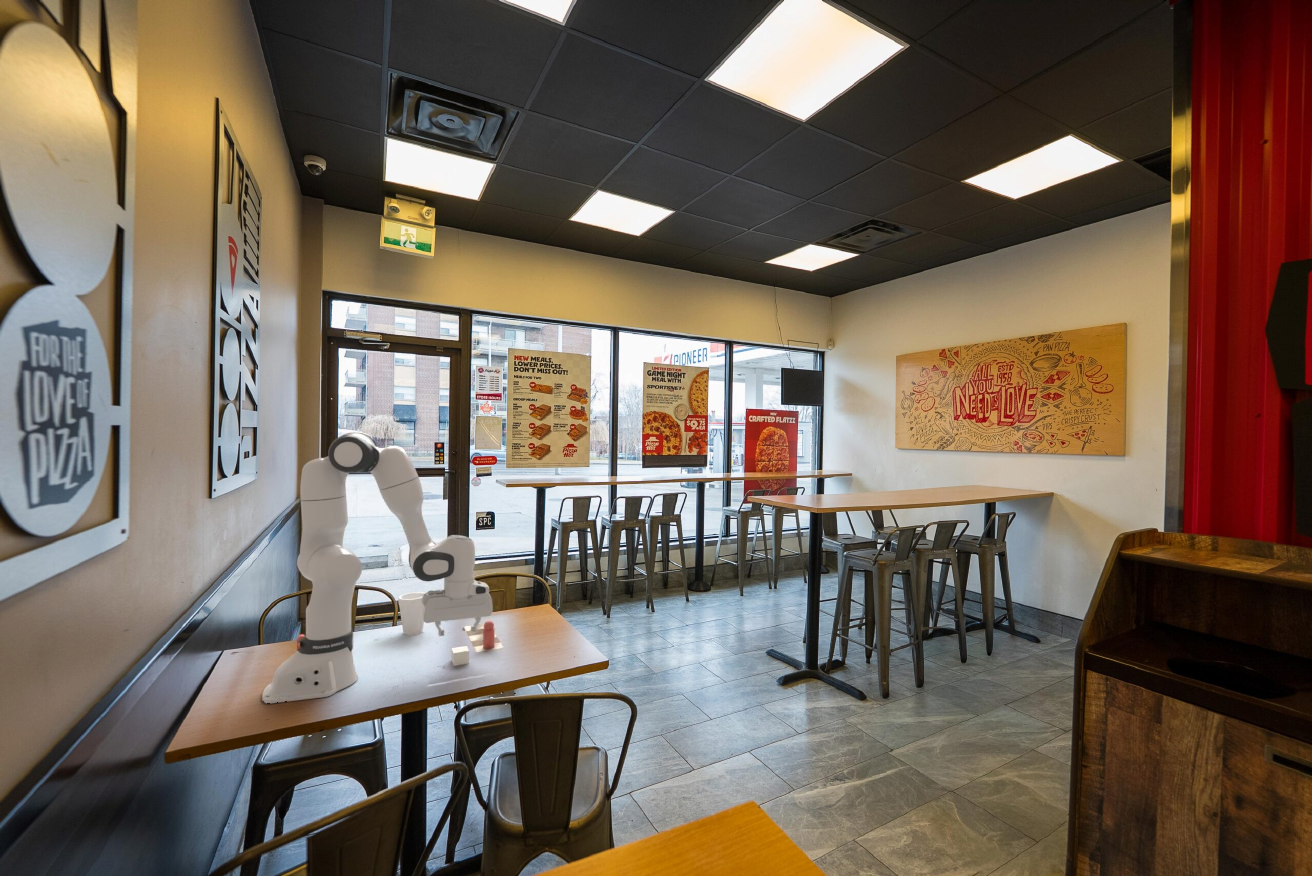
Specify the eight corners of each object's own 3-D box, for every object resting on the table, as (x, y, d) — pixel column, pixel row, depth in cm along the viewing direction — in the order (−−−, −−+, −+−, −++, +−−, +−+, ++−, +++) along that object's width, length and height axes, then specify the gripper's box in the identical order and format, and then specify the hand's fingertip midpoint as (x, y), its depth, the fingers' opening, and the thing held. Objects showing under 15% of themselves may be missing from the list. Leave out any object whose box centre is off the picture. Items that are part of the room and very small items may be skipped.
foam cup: (418, 625, 204) (418, 590, 204) (432, 630, 198) (432, 594, 198) (393, 633, 196) (393, 596, 196) (407, 638, 190) (407, 601, 190)
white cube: (453, 668, 166) (453, 653, 166) (451, 662, 170) (451, 648, 170) (468, 665, 168) (468, 650, 168) (466, 660, 172) (466, 645, 172)
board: (476, 654, 176) (476, 652, 176) (463, 628, 201) (463, 626, 201) (504, 649, 181) (504, 647, 181) (488, 624, 205) (488, 622, 205)
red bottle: (484, 649, 179) (484, 623, 179) (482, 646, 182) (482, 620, 182) (495, 648, 180) (495, 621, 180) (493, 644, 183) (493, 618, 183)
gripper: (423, 593, 162) (421, 641, 161) (494, 587, 171) (493, 632, 171) (421, 588, 167) (420, 634, 167) (490, 582, 177) (489, 626, 176)
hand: (457, 633), depth 169 cm, fingers open, 8 cm apart
